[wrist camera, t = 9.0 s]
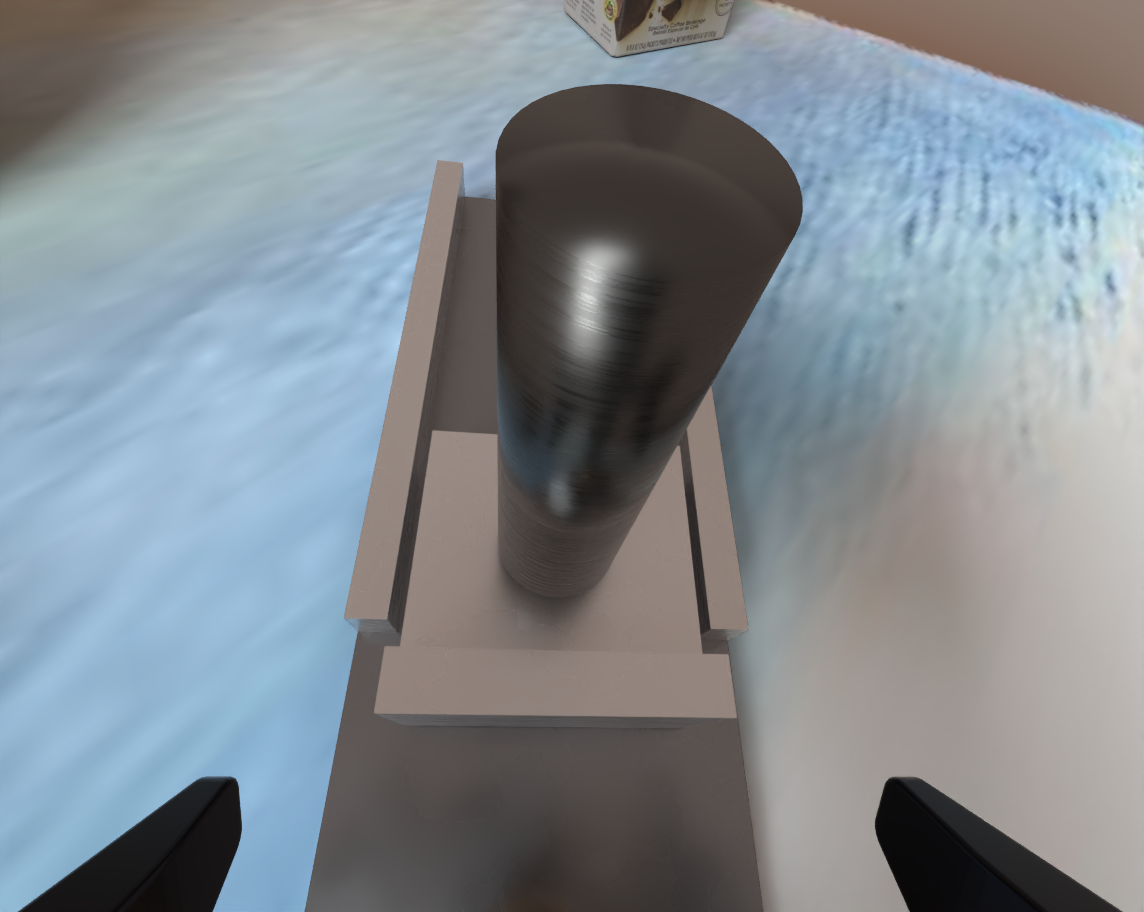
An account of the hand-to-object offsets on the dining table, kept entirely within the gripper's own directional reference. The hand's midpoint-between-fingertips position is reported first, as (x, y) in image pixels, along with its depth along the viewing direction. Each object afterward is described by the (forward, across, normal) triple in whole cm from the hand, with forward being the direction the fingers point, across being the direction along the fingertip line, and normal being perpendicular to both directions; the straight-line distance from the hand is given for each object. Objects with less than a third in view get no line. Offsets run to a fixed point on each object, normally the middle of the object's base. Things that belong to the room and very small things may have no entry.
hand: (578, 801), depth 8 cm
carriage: (+8, 0, +1) cm, 8 cm away
